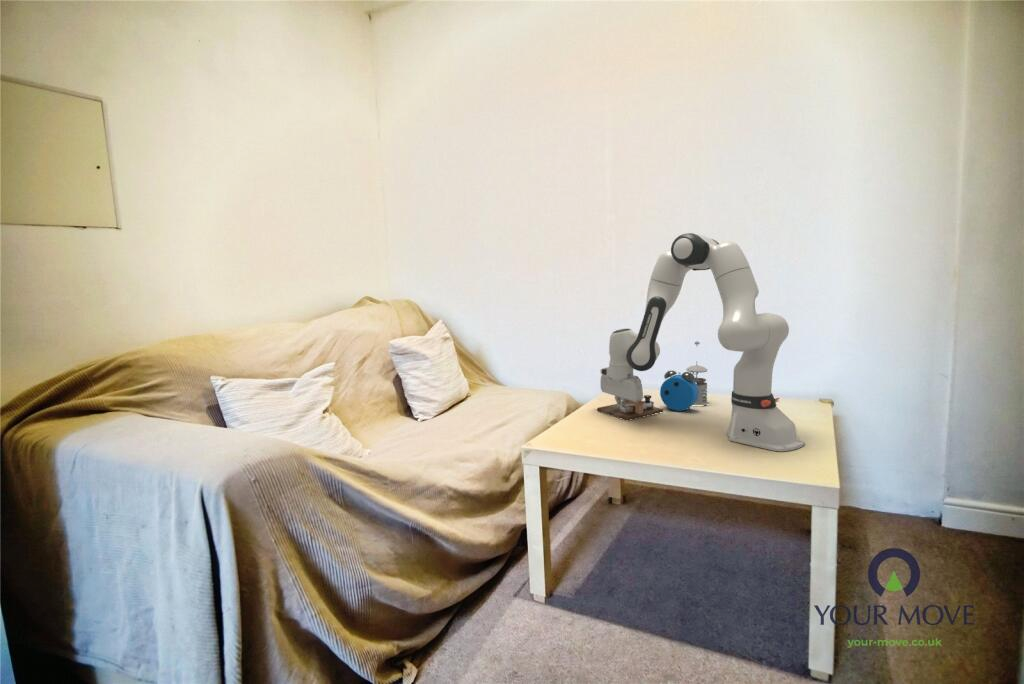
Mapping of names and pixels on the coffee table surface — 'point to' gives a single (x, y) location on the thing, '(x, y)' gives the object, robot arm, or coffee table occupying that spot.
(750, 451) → the coffee table surface
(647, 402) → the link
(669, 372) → the alarm clock
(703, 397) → the french press
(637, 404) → the keeper
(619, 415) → the pivot board
